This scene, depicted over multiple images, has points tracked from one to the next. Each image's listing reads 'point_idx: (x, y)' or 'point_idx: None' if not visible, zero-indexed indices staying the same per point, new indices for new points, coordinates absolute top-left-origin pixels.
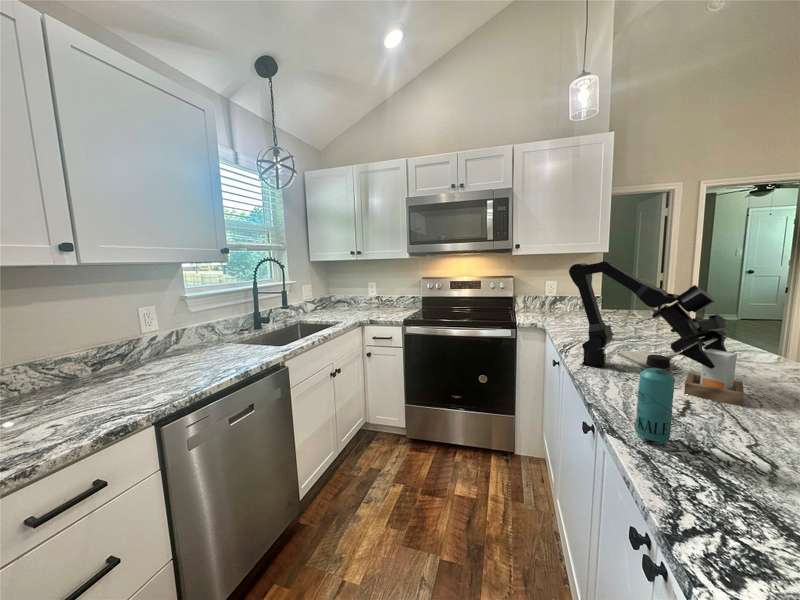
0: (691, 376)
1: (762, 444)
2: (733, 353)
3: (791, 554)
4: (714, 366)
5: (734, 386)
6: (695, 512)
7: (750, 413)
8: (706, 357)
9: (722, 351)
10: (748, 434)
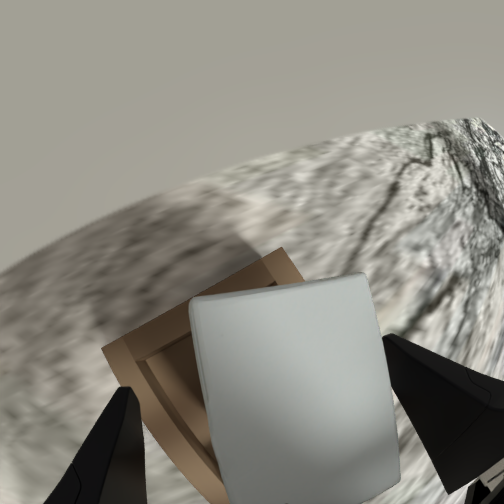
0: None
1: (405, 156)
2: (220, 323)
3: (472, 118)
4: (390, 334)
5: (142, 361)
6: (500, 157)
7: (300, 226)
8: (456, 363)
9: (257, 434)
10: (402, 178)
